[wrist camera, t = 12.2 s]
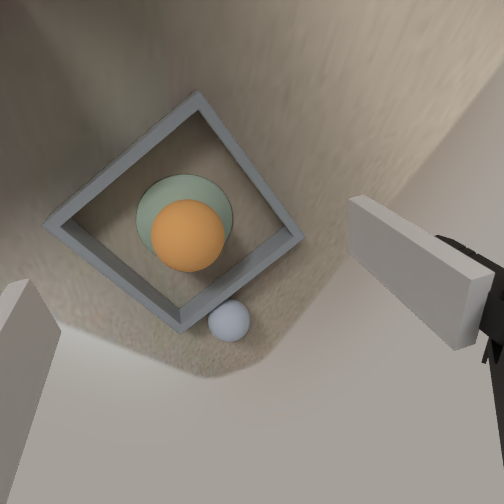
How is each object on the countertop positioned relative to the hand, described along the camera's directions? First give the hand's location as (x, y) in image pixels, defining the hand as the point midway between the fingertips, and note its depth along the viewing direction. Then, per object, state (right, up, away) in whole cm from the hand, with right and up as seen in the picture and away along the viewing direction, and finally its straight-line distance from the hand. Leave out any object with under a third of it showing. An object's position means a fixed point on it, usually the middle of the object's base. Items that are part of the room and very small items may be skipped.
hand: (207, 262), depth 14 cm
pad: (-5, +4, +22) cm, 23 cm away
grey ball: (-1, -7, +28) cm, 29 cm away
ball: (-5, +4, +22) cm, 22 cm away
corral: (-5, +4, +22) cm, 23 cm away
